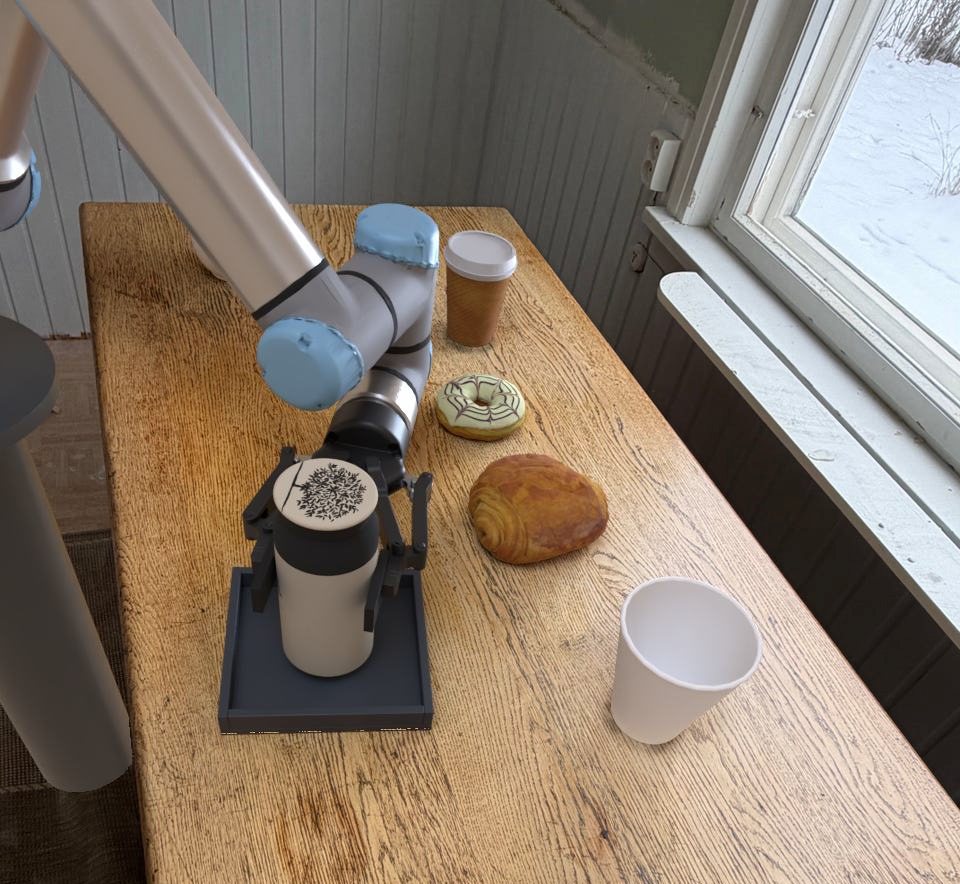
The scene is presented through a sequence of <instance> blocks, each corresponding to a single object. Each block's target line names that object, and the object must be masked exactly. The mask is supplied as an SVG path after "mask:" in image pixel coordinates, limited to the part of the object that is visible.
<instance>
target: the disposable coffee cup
mask: <svg viewBox="0 0 960 884" xmlns="http://www.w3.org/2000/svg"><path fill="white" fill-rule="evenodd" d="M442 254H443V259H444V262H445V274H446V275H445V276H446V277H445V278H446V323H447V324H446V332H447V335H448V337H449V338H450V339H451V340H452V341H454V342H455V343H458V344H460V345H463V346H468V347H482V346H485V345H488V344H489V343H490V342H491V341H492V340H493V337H494V334H495V330H496V327H497V324H498V321H499V318H500V314H501V311H502V307H503V304H504V301H505V298H506V296H507V295H506V294H507V290H508V287H509V285H510V281H511V278H512V275H513V274H514V272H515V270H516V269H517V267H518V259H517V255H516V249H515V246H514V245H513V244H512V243H511V241H509V240H507V239H506V238H505V237H502V236H501V235H498V234H496V233H492V232H489V231H485V230H484V231H483V230H478V229H477V230H475V229H474V230H473V229H472V230H471V229H470V230H462V231H459V232H456V233H453V234H452V235H450V237H449V238H448V241H447V243H446V245H444V248H443V250H442Z"/></svg>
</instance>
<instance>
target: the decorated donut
mask: <svg viewBox="0 0 960 884" xmlns="http://www.w3.org/2000/svg"><path fill="white" fill-rule="evenodd" d="M435 407H436V408H435V409H436V416H437V418H438V422H439V424H441V425H442V426H443V427H444V428H445V429H446V430H448V431H449V432H450V433H452V434H453V435H457V436H458V437H459V436H460V437H463V438H464V439H470V440H471V439H472V440H477V441H498V440H501V439H503V438H506V437H508V436H510V435H511V434H513V433H514V432H515V431H517V429H518V428H519V427H520V426H521V425H522V424H523V422H524V420H525V416H526V403H525V400H524V398H523V396H522V393H521V392H520V390H519V389H518V388H517V386H516V385H515V384H513V383H511V382H509V381H507V380H506V379H505V378H501V377H498V376H497V375H496V376H495V375H491V374H488V373H469V374H464V375H461V376H459V377H455V378H453V379H451V380H449V381H448V382H446V383H445V384H443V385H442V386H441V387H440V389H438V391H437V394H436V406H435Z"/></svg>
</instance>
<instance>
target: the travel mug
mask: <svg viewBox="0 0 960 884" xmlns="http://www.w3.org/2000/svg"><path fill="white" fill-rule="evenodd" d="M273 497H274V501H275V504H276V506H277V508H278V509H277V510H276V512H275V514H274V517H273V522H272V526H273V538H274V549H275V561H276V572H277V584H278V595H279V607H280V618H281V630H282V641H283V648H284V652H285V654H286V656H287V658H288V659H289V660H290V661H291V663H292V664H294V665H295V666H296V667H297V668H299V669H300V670H302V671H304V672H306V673H309V674H312V675H316V676H324V677H331V676H339V675H343V674H346V673H349V672H351V671H353V670H355V669H357V668H358V667H359V666H361V665H362V664H363V663H364V662H365V661H366V660H367V658H368V657H369V655H370V653H371V651H372V648H373V637H374V630H373V633H371V632H365V631H363V628H364V608H365V604H366V601H367V597H368V593H369V589H370V586H371V582H372V578H373V575H374V571H375V568H376V565H377V561H378V556H379V548H380V547H379V546H380V544H379V543H380V537H379V528H380V524H379V519H378V516H377V514H376V512H375V511H374V509H375V507H376V504H377V501H378V491H377V487H376V485H375V483H374V481H373V480H372V478H371V477H370V476H369V475H368V474H367V473H366V472H365V471H363V470H362V469H360V468H359V467H357V466H355V465H353V464H351V463H348V462H345V461H341V460H336V459H325V458H323V459H311V460H306V461H303V462H300V463H297V464H295V465H293V466H291V467H289V468H288V469H286V470H285V471H284V472H283V473H282V474H281V475H280V476H279V477H278V479H277V481H276V482H275V485H274V489H273Z"/></svg>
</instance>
